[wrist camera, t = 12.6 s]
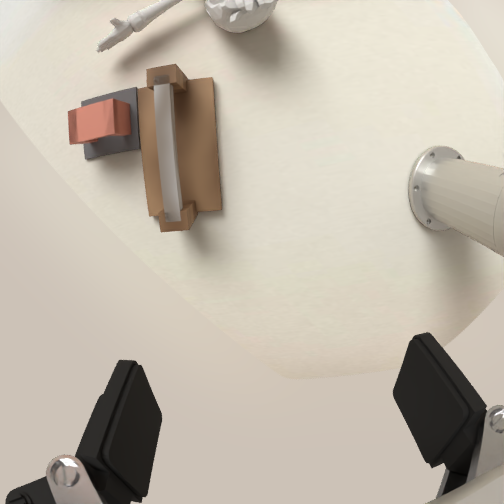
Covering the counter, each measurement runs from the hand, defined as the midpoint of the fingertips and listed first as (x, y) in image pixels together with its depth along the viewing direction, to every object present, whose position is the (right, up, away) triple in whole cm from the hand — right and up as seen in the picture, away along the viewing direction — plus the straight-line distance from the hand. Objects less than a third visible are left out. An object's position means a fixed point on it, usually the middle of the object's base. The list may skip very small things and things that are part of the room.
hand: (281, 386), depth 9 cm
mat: (-19, +21, +22) cm, 35 cm away
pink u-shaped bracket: (-19, +20, +21) cm, 35 cm away
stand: (-10, +17, +23) cm, 30 cm away
